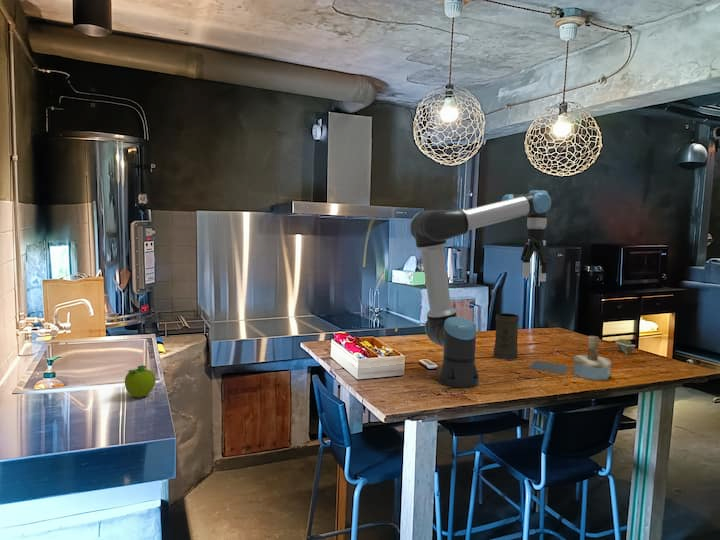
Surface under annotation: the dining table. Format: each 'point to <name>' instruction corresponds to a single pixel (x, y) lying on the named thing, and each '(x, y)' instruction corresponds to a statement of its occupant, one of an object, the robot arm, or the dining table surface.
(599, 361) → the lid
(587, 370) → the bowl
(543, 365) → the mat
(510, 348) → the beer stein
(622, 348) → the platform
